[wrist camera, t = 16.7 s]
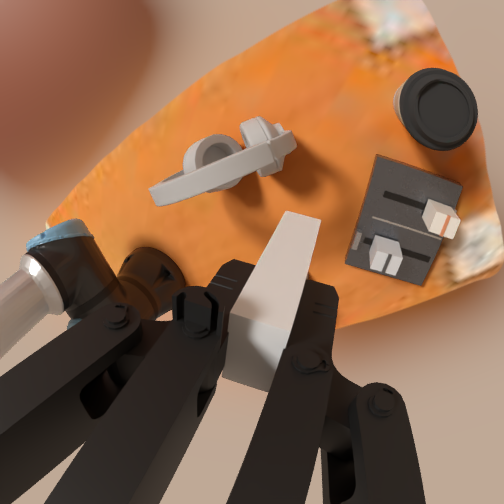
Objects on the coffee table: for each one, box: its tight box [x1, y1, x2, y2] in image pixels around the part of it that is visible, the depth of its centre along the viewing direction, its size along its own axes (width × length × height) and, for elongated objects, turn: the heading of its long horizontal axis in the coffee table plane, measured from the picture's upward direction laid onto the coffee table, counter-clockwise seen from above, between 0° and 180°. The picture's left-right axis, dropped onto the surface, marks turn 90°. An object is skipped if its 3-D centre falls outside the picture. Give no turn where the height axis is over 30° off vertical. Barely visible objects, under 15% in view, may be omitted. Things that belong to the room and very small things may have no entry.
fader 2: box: [422, 199, 461, 239], centre depth 38 cm, size 4×3×5 cm
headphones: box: [149, 116, 297, 206], centre depth 38 cm, size 19×8×20 cm, turn 112°
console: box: [345, 154, 463, 286], centre depth 43 cm, size 14×18×3 cm
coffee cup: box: [393, 68, 478, 151], centre depth 29 cm, size 9×9×15 cm
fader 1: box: [369, 235, 403, 276], centre depth 43 cm, size 4×3×5 cm
